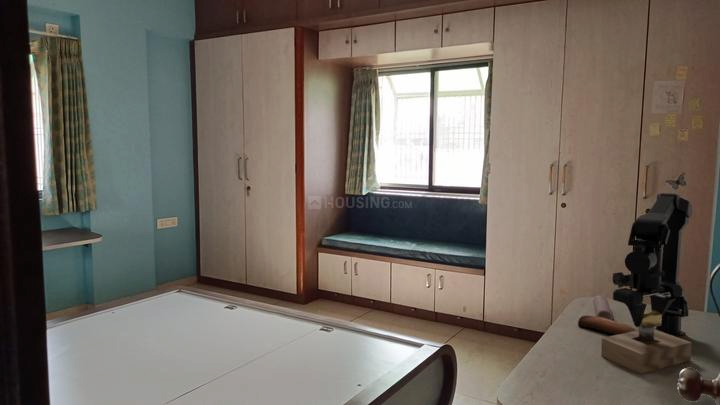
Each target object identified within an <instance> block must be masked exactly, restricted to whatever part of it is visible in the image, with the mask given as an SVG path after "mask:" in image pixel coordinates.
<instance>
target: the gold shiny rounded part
mask: <svg viewBox="0 0 720 405" xmlns="http://www.w3.org/2000/svg"><path fill="white" fill-rule="evenodd" d="M661 320H662V314H661V313H659V312H657V311H654V310H651V309H647V308H645V311H644V315H643V318H642V321H641V324H640V326H639V327H638V330H639V335H638V338H639V339H641V340H644V341H654V328H656V326H660V325H661Z"/></svg>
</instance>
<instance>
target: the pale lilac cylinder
mask: <svg viewBox="0 0 720 405" xmlns="http://www.w3.org/2000/svg"><path fill="white" fill-rule="evenodd" d="M592 304H593V308H594V312H595V313H594V314H595V316H598V317H602V318H606V319H609V320H612V321H614V320H613V319H614V317H613V314H612V310H611V308H610V305H609V301H608V299H607V297H605V296H604V295H596V296H594V297H593V299H592Z"/></svg>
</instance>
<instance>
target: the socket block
mask: <svg viewBox="0 0 720 405" xmlns="http://www.w3.org/2000/svg"><path fill="white" fill-rule="evenodd" d="M636 330H637V329H636ZM638 335H639V329H638V330H637V331H632V332H628V333H623V334H618V335H614V334H613V335H610V336H606V337H602V338H601V357H603V358H605V359H607V360H610V361H611V362H614V363H616V364H618V365H620V366H623V367H624V368H627V369H629V370H631V371H634V372H636V373H637V374H640V375H642V374H646V373H650V372H653V371H657V370H661V369H665V368H668V367H672V366H676V365H680V363H681V364H683V363H682V362H685V363H687V362H686V361H688V362H691V361H692V342H691V341H689V340H686V339H683V338H680V337H679V336H676V337H675V336H672V335H669V334H666V333H664V332H661V331H658V330H655V329H654V341H644V340H641V339H639V338H638ZM690 360H691V361H690Z"/></svg>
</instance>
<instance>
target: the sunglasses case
mask: <svg viewBox="0 0 720 405" xmlns="http://www.w3.org/2000/svg"><path fill="white" fill-rule="evenodd" d="M577 325H578V327H584V328H588V329H594V330H598V331H600V332H603V333H607V334H612V335H613V336H614V335H618V334H623V333H628V332H632V331H637V329H635V328H634V327H633V326H631V325H629V324H627V323H625V322H620V321H619V322H618V321H617V320H609V319H606V318H602V317H598V316H596V315H582V316H580V317H579V318H578V321H577Z"/></svg>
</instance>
